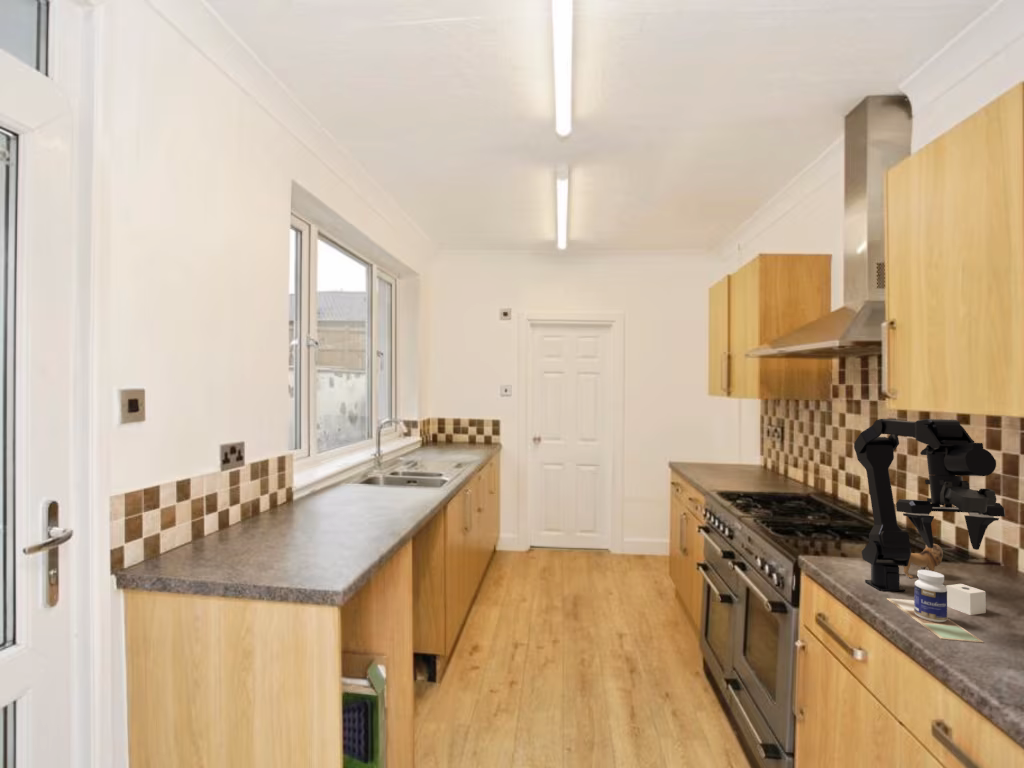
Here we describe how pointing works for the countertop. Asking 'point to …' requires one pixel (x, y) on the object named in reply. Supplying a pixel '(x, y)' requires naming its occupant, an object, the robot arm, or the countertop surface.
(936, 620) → the pill bottle
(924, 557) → the lion figurine
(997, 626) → the countertop surface
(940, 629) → the game board
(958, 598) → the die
